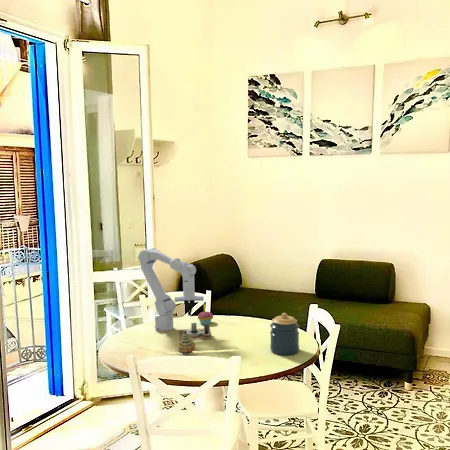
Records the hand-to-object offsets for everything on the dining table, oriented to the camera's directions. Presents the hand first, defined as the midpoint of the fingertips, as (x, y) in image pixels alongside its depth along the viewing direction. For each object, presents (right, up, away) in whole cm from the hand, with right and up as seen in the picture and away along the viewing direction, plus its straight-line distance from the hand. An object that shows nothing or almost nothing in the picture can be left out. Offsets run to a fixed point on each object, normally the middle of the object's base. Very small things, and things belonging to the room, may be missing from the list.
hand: (189, 315), depth 245 cm
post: (+3, -10, -3) cm, 11 cm away
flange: (+4, -9, -4) cm, 11 cm away
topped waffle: (+1, -12, -24) cm, 27 cm away
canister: (+45, -12, -26) cm, 53 cm away
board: (+3, -10, -3) cm, 11 cm away
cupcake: (+8, -9, +17) cm, 20 cm away
